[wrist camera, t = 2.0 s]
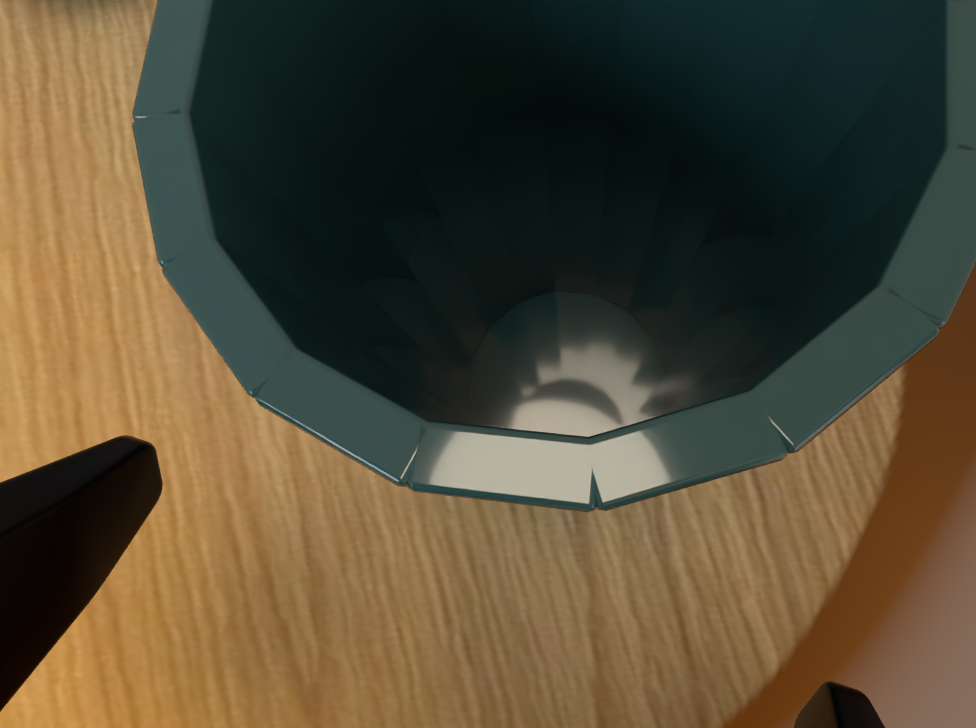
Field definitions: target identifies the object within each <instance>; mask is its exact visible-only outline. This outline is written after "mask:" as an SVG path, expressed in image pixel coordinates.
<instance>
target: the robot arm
mask: <svg viewBox="0 0 976 728" xmlns="http://www.w3.org/2000/svg"><path fill="white" fill-rule="evenodd" d="M162 485H163V484H162V478H161V473H160V468H159V463H158V458H157V453H156V450H155V447H154V446H153V445H152V444H151V443H149V442H147V441H144V440H141V439H138V438H135V437H132V436H119V437H116V438H114V439H111V440H108V441H106V442H103V443H101V444H98V445H96V446H93V447H91V448H88V449H85V450H83V451H80V452H78V453H75V454H73V455H70V456H67V457H65V458H62V459H60V460H57V461H55V462H52V463H50V464H47V465H44V466H42V467H39V468H37V469H34V470H32V471H29V472H27V473H24V474H21V475H19V476H16V477H14V478H11V479H9V480H6V481H4V482H1V483H0V711H1V710H2V709H3V708H4V706H5V705H6V704H7V703H8V702H9V700H10V699H11V698H12V697H13V695H14V694H15V693H16V692H17V691H18V689H19V688H20V687H21V686H22V684H23V683H24V682H25V681H26V679H27V678H28V677H29V676H30V675H31V673H32V672H33V671H34V670H35V668H36V667H37V666H38V665H39V663H40V662H41V661H42V660H43V659H44V657H45V656H46V655H47V654H48V652H49V651H50V650H51V649H52V648H53V646H54V645H55V644H56V643H57V641H58V640H59V639H60V638H61V636H62V635H63V634H64V633H65V632H66V630H67V629H68V628H69V627H70V625H71V624H72V623H73V622H74V620H75V619H76V618H77V617H78V616H79V614H80V613H81V612H82V611H83V609H84V608H85V607H86V606H87V604H88V603H89V602H90V600H91V599H92V598H93V597H94V595H95V594H96V593H97V591H98V590H99V588H100V587H101V586H102V584H103V583H104V581H105V580H106V578H107V577H108V575H109V574H110V572H111V571H112V569H113V568H114V566H115V565H116V563H117V562H118V560H119V559H120V557H121V556H122V554H123V553H124V551H125V550H126V548H127V547H128V545H129V544H130V542H131V541H132V539H133V538H134V536H135V535H136V533H137V532H138V530H139V529H140V527H141V526H142V524H143V523H144V521H145V520H146V518H147V517H148V515H149V514H150V512H151V511H152V509H153V507H154V506H155V504H156V503H157V501H158V499H159V497H160V495H161V492H162ZM794 728H885V727H884V725H883V723H882V722H881V720H880V718H879V716H878V714H877V713H876V711H875V709H874V707H873V706H872V704H871V702H870V701H869V699H868V698H867V697H866V696H865V695H864V694H863V693H862V692H860V691H858V690H856V689H853V688H850V687H847V686H844V685H842V684H839V683H836V682H833V681H828V682H825V683H823V684H822V685H821V686H820V688H819V689H818V690H817V691H816V693H815V694H814V695H813V696H812V698H811V699H810V700H809V701H808V703H807V704H806V705H805V706H804V708H803V709H802V710H801V711H800V713H799V714H798V717H797V719H796V722H795V725H794Z"/></svg>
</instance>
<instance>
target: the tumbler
mask: <svg viewBox="0 0 976 728" xmlns="http://www.w3.org/2000/svg"><path fill="white" fill-rule="evenodd" d="M132 115H133V119H134V122H133V125H132V127H133V132H134V138H135V143H136V148H137V154H138V159H139V164H140V170H141V175H142V180H143V186H144V191H145V196H146V201H147V207H148V212H149V217H150V223H151V228H152V233H153V239H154V244H155V249H156V255H157V260H158V263H159V264H160V266H161V267H162V268H163V269H162V271H163V274H164V277H165V278H166V279H167V281H168V282H169V284H170V285H171V286H172V288H173V289H174V291H175V292H176V294H177V295H178V296H179V298H180V299H181V301H182V302H183V303H184V305H185V306H186V308H187V309H188V311H189V312H190V313H191V315H192V316H193V318H194V319H195V320H196V322H197V323H198V325H199V326H200V328H201V329H202V330H203V332H204V333H205V335H206V336H207V337H208V339H209V340H210V342H211V343H212V344H213V346H214V347H215V349H216V350H217V352H218V353H219V354H220V356H221V357H222V359H223V360H224V361H225V363H226V364H227V366H228V367H229V369H230V370H231V371H232V373H233V374H234V376H235V377H236V378H237V380H238V381H239V383H240V384H241V385H242V387H243V388H244V390H245V391H246V393H247V394H248V395H249V396H251V397H253V398H255V399H256V401H257V402H258V404H259V405H260V406H261V407H263V408H265V409H267V410H268V411H270V412H272V413H273V414H275V415H277V416H279V417H280V418H282V419H284V420H285V421H287V422H289V423H291V424H292V425H294V426H296V427H297V428H299V429H301V430H303V431H304V432H306V433H308V434H309V435H311V436H313V437H315V438H316V439H318V440H320V441H321V442H323V443H325V444H327V445H328V446H330V447H332V448H333V449H335V450H337V451H339V452H340V453H342V454H344V455H345V456H347V457H349V458H351V459H352V460H354V461H356V462H357V463H359V464H361V465H363V466H364V467H366V468H368V469H369V470H371V471H373V472H375V473H376V474H378V475H380V476H381V477H383V478H385V479H387V480H388V481H390V482H392V483H393V484H395V485H397V486H401V487H408V488H409V489H411V490H412V491H414V492H422V493H430V494H439V495H447V496H455V497H464V498H472V499H481V500H489V501H498V502H506V503H514V504H523V505H531V506H540V507H548V508H556V509H565V510H573V511H582V512H590V511H593V510H595V509H598V510H604V511H607V510H610V509H614V508H617V507H621V506H624V505H628V504H631V503H635V502H638V501H642V500H645V499H649V498H652V497H656V496H659V495H663V494H666V493H669V492H673V491H676V490H680V489H683V488H687V487H690V486H694V485H697V484H701V483H704V482H708V481H711V480H715V479H718V478H721V477H725V476H728V475H732V474H735V473H739V472H742V471H746V470H749V469H753V468H756V467H760V466H763V465H767V464H770V463H774V462H777V461H780V460H782V459H783V458H785V457H786V456H787V454H791V453H794V452H798V451H799V450H800V449H802V448H803V447H804V446H805V445H806V444H808V443H809V442H810V441H811V440H812V439H814V438H815V437H816V436H817V435H819V434H820V433H821V432H822V431H823V430H825V429H826V428H827V427H828V426H829V425H831V424H832V423H833V422H834V421H835V420H837V419H838V418H839V417H840V416H842V415H843V414H844V413H845V412H846V411H848V410H849V409H850V408H851V407H852V406H854V405H855V404H856V403H857V402H859V401H860V400H861V399H862V398H863V397H865V396H866V395H867V394H868V393H869V392H871V391H872V390H873V389H874V388H876V387H877V386H878V385H879V384H880V383H882V382H883V381H884V380H885V379H886V378H888V377H889V376H890V375H891V374H893V373H894V372H895V371H896V370H897V369H899V368H900V367H901V366H902V365H903V364H905V363H906V362H907V361H908V360H910V359H911V358H912V357H913V356H914V355H916V354H917V353H918V352H919V351H920V350H922V349H923V348H924V347H925V346H926V345H928V344H929V343H930V342H931V341H932V340H934V339H935V338H936V337H937V334H938V333H939V331H940V330H939V329H940V328H942V327H943V326H945V325H946V324H947V323H948V320H949V318H950V316H951V314H952V312H953V310H954V308H955V306H956V304H957V301H958V299H959V297H960V295H961V293H962V291H963V289H964V287H965V284H966V283H967V280H968V278H969V276H970V274H971V272H972V270H973V268H974V266H975V264H976V0H157V5H156V9H155V14H154V18H153V23H152V27H151V32H150V36H149V41H148V45H147V49H146V54H145V58H144V63H143V67H142V72H141V76H140V81H139V85H138V90H137V94H136V99H135V103H134V108H133V112H132Z"/></svg>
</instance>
